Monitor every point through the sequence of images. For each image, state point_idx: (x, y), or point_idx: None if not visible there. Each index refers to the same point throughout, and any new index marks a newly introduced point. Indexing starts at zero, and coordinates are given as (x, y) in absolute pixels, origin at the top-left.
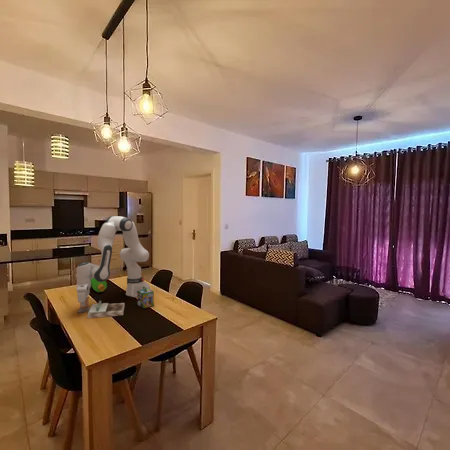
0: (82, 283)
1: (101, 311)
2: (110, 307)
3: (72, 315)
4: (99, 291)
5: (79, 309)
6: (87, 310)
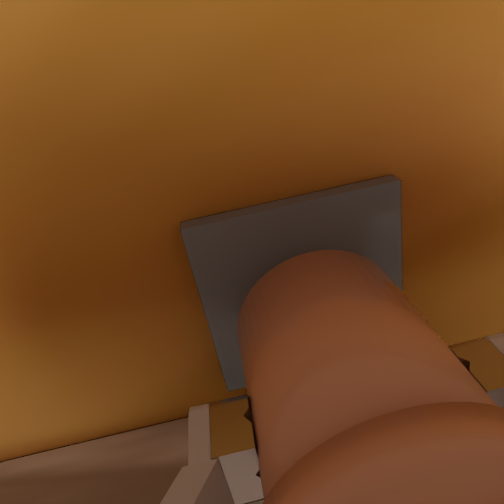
0: None
1: None
2: None
3: (37, 171)
4: None
5: (326, 200)
6: None
